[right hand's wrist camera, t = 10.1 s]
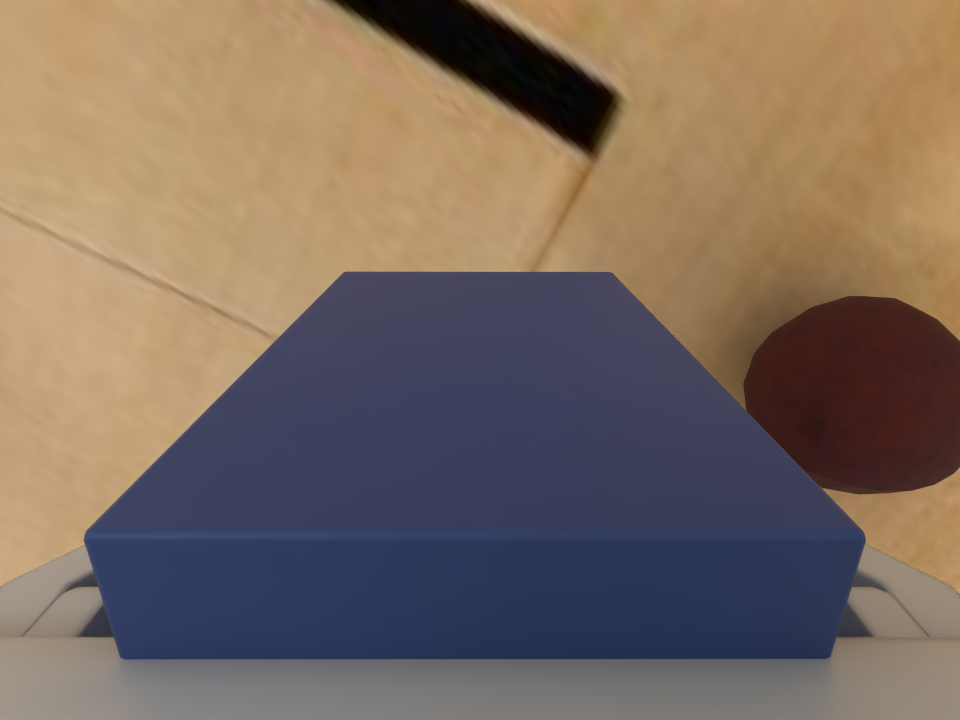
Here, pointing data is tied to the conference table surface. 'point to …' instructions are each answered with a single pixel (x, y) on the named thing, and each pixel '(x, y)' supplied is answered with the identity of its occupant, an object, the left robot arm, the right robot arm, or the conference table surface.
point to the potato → (861, 395)
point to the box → (475, 493)
